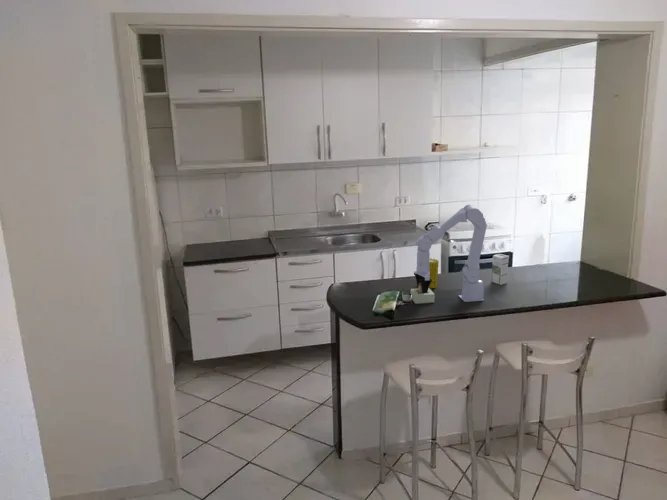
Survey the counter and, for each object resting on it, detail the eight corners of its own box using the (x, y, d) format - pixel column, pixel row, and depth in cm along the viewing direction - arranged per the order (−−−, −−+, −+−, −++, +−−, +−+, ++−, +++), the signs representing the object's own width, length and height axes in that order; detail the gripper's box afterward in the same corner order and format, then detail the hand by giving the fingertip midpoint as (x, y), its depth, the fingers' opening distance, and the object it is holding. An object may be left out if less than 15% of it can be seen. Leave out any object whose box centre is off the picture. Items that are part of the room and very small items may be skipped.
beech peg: (425, 297, 251) (425, 282, 248) (426, 300, 247) (427, 284, 245) (417, 298, 250) (417, 282, 248) (419, 301, 247) (419, 284, 245)
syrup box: (507, 283, 269) (509, 255, 265) (499, 285, 265) (501, 257, 261) (498, 280, 273) (500, 253, 269) (490, 282, 270) (492, 255, 266)
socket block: (428, 295, 254) (428, 287, 252) (434, 302, 245) (434, 294, 244) (410, 296, 253) (410, 288, 251) (415, 303, 244) (415, 295, 243)
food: (414, 290, 265) (426, 286, 272) (434, 290, 257) (445, 286, 264) (410, 260, 264) (422, 257, 271) (430, 259, 256) (441, 256, 263)
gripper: (410, 258, 250) (409, 285, 254) (419, 267, 236) (418, 296, 240) (424, 257, 251) (424, 284, 255) (434, 266, 237) (433, 295, 241)
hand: (422, 290), depth 247 cm, fingers open, 7 cm apart
